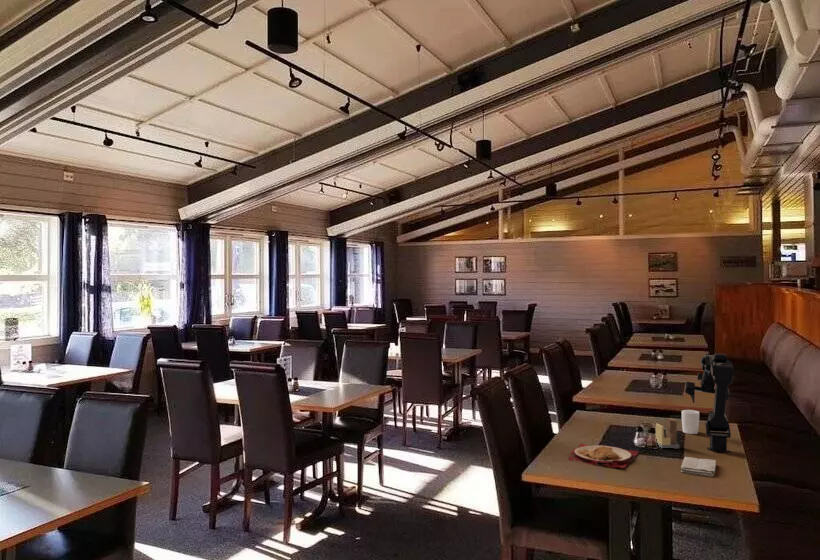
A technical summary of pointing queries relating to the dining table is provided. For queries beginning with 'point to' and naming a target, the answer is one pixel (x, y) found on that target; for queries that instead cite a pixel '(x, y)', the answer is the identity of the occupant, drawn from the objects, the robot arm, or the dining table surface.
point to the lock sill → (663, 438)
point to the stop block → (671, 429)
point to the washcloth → (698, 466)
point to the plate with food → (603, 455)
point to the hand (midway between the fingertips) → (704, 404)
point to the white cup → (690, 421)
